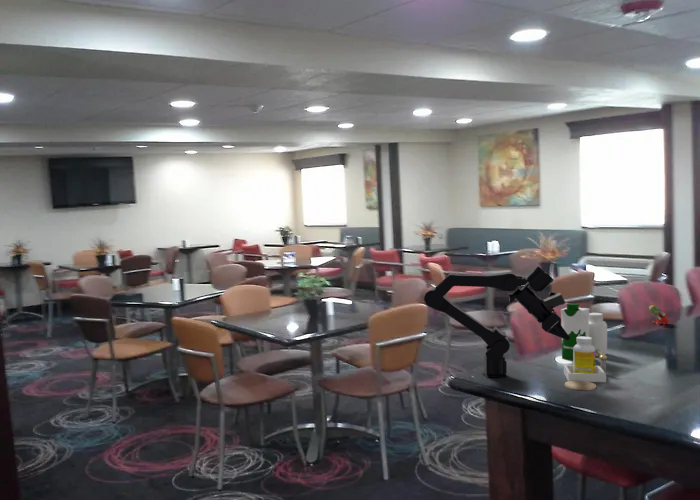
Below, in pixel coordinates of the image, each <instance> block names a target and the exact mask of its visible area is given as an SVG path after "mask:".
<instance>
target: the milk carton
mask: <svg viewBox="0 0 700 500" xmlns="http://www.w3.org/2000/svg"><path fill="white" fill-rule="evenodd" d="M589 313H590V308H588V307H587V308H586V307H579V303H576V302H574V303H573V302H571V303H570V302H568V303H566V307H565V308H561V309H560V318H561V326H562V327H563V329H564V330H565V331H566V333H567V334H568V336H569V337H570V339H569V340H566V339H563V338H561V359H562V360H563V359H564V360H570V361H571V360H572V361H573V347H574V346H575V345H577V341H576V338H577V337H580V336H585V337H589Z"/></svg>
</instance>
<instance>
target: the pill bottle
mask: <svg viewBox="0 0 700 500" xmlns="http://www.w3.org/2000/svg"><path fill="white" fill-rule="evenodd" d="M589 337H591V338H592V343H591V345H592V346H594V348H595V357H597V356H596V349H599V350H600V351H601V352H602V354H603V355H605V356H607V355H608V324H607V322H606V321H605V320H604V314H603V313H601V312H589Z"/></svg>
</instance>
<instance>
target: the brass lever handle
mask: <svg viewBox="0 0 700 500" xmlns="http://www.w3.org/2000/svg"><path fill="white" fill-rule="evenodd" d="M595 357H599V359H600V360H601V359H606V360H608V358H607V357H608V356H607V355H603V354H602V352H601V351H600V350H599V349H596V356H595Z"/></svg>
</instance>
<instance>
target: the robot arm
mask: <svg viewBox="0 0 700 500" xmlns="http://www.w3.org/2000/svg"><path fill="white" fill-rule="evenodd" d="M554 281H555V280H554V279H553V277H551V276H550V274H549V273H547V271H544V270H543V269H542V268H541V267H540V266H538V265H537V266H536V267H535V268H534V270H533V271H531V273H530V274H529V275H528V276H522V275H521V276H520V275H516V274H515V273H514V272H512V271H506V272H498V273H494V274H460V273H459V274H456V273H448V275H446V277H445V278H444V279H443V280H442V281H441V282H440V283H438V285H436V286H435V287H432V288H429V289H428V290H427V291H426V292H425V294H424V297H423V300H424V303H425V305H426V306H427V307H429V308H431V309H434V310H436V311H437V312H441V313H443V314H446V315H448V316H449V317H451V318H452V319H453V320H454V321H456V322H458V323H459V324H461V325H462V326H463V327H465V328H466V329H468V330H469V331H470V332H472V333H474V334H475V335H476V336H478V337H479V338H480V339H481V340H483V342H484V343H486V344H485V345H487V346H485V347H484V352H485V353H484V354H485V355H483V370H482V371H481V372H482V374H483V375H484V376H485V377H487V378H503V377H504V378H507V377H508V375H507V373H508V372H507V371H508V370H507V366H508V365H507V360H506V357H505V356H504V355H505V354H506V353H508V351H509V349H510V345H511V344H510V340H509V338H508V336H507V334H506V332H505V331H502V330H500V329H499V327H497V326H496V325H494V328H493V329H492V328H490V327H487V326H486V325H485V324H483V323H481V322H480V321H479V320H477V319H475V318H474V317H473V316H472V315H470V314H469V313H467V312H465V311H464V310H463V309H461V308H460V307H458V305H455V304H454V303H453V302H452V301H451V300H450V299H449V298H448V297H447V295H446V294H448V292H450V291H451V290H452V288H454V287H480V288H481V287H482V288H483V287H485V288H493V289H496V290H501V291H504V292H505V291H506V292H511V293H508V297H509V299H508V301H509V303H511V304H512V303H513V302H514V301H516V302H518V303H519V305H521V306H522V307H523V308H524V309H525V310H526V311H527V313H529V314H530V315H531V316H532V317H534V319H535V320H536V321H537V322H538V324H539V323H540V327H541V329H542V330H543V331H544V332H546V333H548V334H552V335H553V336H556V337H559V338H561V339H562V338H563V339H566V340H569V339H570V337H569V336H568V334H567V333H566V331H565V330H564V329H563V327H562V319H561V316H559V315H558V314H557V312H556V310H555V308H557V307H559V306H562V305H564V304H567V303H566V301H565V299H564V297H563V295H562V293H561V292H557V293H556V292H554V291H551V292H548V297H546V298H544V299H543V298H542V297H539V296H538V295H537V294H536V293H538V292H540V293H543V292H544V291H545V290H546V289H547V288H548V286H550V285H551V284H552V283H553V282H554ZM520 287H521V288H520ZM532 289H533V290H532ZM513 291H514V292H513ZM534 291H535V292H536V293H535V292H534ZM512 292H513V293H512Z"/></svg>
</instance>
